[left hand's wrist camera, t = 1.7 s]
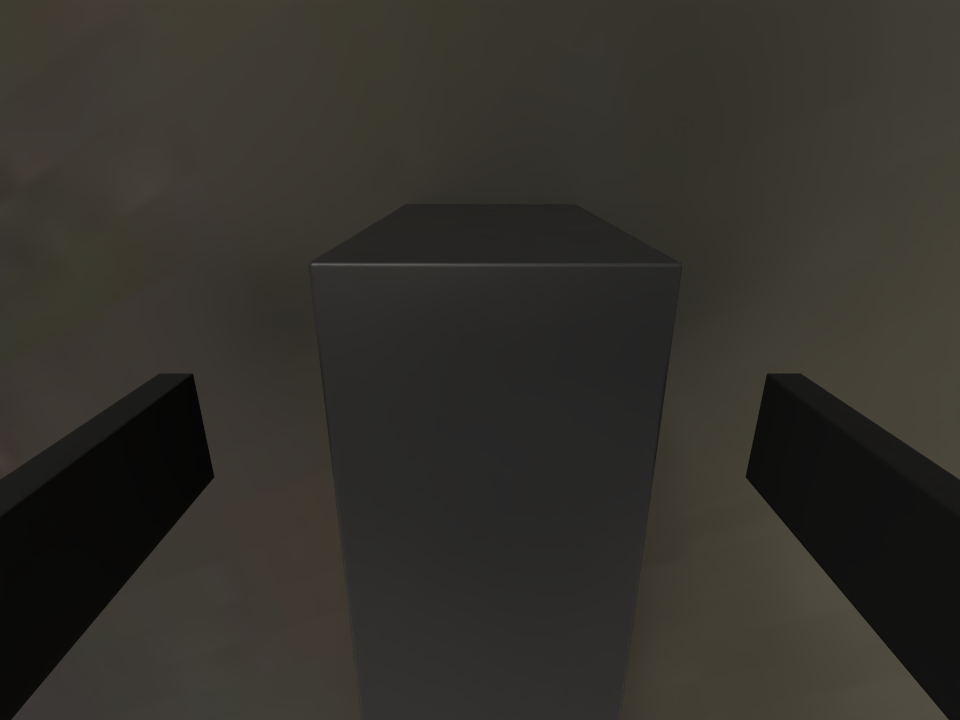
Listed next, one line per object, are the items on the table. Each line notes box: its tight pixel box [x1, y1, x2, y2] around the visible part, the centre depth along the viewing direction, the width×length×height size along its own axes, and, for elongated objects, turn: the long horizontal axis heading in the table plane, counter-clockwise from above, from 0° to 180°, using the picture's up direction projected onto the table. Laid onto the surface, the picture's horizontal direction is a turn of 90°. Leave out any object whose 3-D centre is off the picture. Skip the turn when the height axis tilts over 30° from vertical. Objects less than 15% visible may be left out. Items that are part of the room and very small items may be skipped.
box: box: [309, 205, 682, 720], centre depth 19 cm, size 29×6×11 cm, turn 0°
